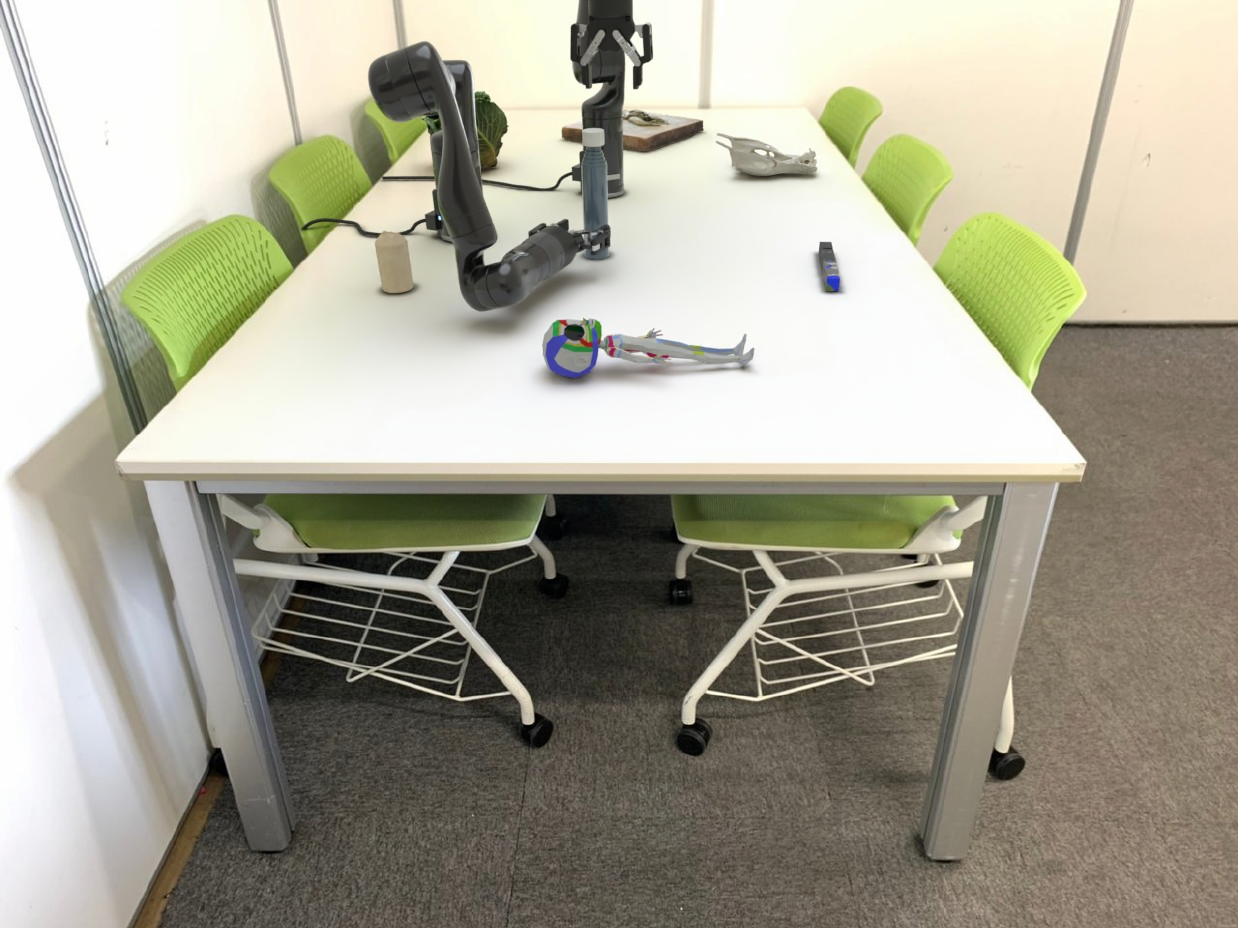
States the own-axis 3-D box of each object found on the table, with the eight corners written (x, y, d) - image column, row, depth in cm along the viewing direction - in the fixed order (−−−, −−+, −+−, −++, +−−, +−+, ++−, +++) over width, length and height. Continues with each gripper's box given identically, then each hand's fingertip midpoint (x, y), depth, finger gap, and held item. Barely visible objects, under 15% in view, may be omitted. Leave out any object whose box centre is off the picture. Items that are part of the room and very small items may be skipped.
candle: (419, 284, 161) (411, 229, 156) (403, 295, 157) (395, 239, 151) (392, 280, 162) (384, 226, 157) (376, 291, 158) (367, 236, 153)
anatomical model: (717, 129, 225) (818, 128, 221) (717, 166, 230) (815, 166, 226) (714, 143, 213) (820, 142, 209) (713, 182, 217) (817, 182, 214)
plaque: (647, 125, 237) (559, 112, 252) (647, 153, 241) (560, 139, 256) (706, 107, 258) (622, 97, 273) (705, 133, 262) (622, 121, 277)
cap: (578, 146, 161) (578, 131, 160) (588, 141, 164) (588, 127, 163) (598, 147, 160) (598, 133, 158) (608, 143, 163) (607, 129, 161)
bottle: (580, 257, 172) (575, 134, 160) (591, 250, 176) (587, 129, 164) (602, 261, 170) (599, 136, 158) (613, 253, 174) (610, 131, 162)
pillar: (831, 242, 170) (840, 279, 154) (830, 253, 172) (838, 291, 155) (819, 241, 171) (827, 279, 154) (818, 252, 172) (825, 291, 155)
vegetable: (456, 190, 238) (411, 121, 230) (516, 151, 239) (474, 80, 231) (465, 191, 219) (416, 116, 212) (530, 148, 221) (484, 71, 213)
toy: (760, 346, 125) (547, 329, 121) (748, 400, 130) (541, 385, 125) (744, 318, 134) (544, 300, 129) (733, 369, 138) (539, 354, 134)
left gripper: (580, 238, 150) (621, 211, 162) (507, 227, 155) (552, 202, 167) (582, 280, 154) (622, 251, 166) (511, 269, 159) (554, 241, 171)
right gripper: (656, -17, 152) (655, 85, 160) (574, -17, 154) (578, 84, 163) (648, -14, 145) (648, 93, 154) (563, -14, 148) (567, 91, 157)
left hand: (587, 227), depth 167 cm, fingers open, 8 cm apart
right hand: (612, 88), depth 158 cm, fingers open, 8 cm apart
